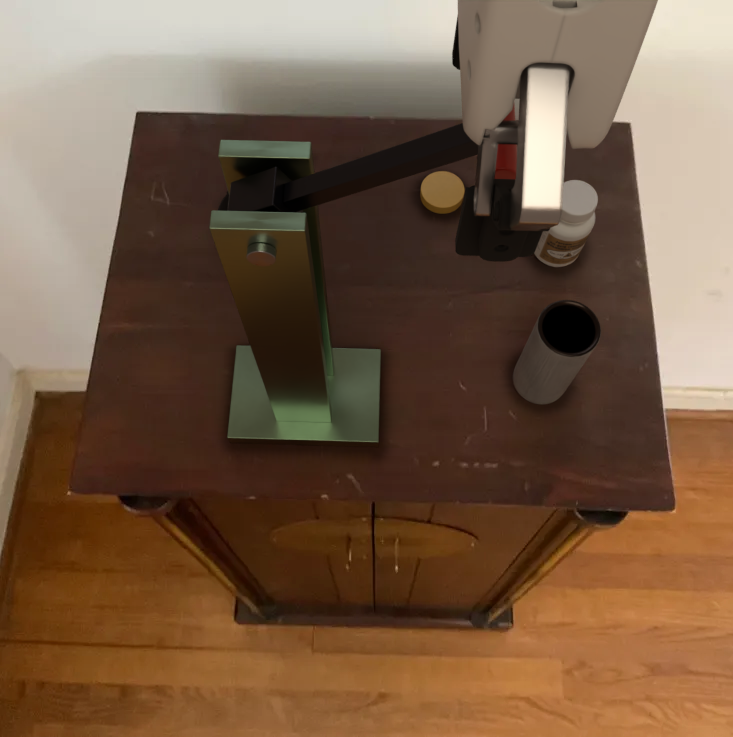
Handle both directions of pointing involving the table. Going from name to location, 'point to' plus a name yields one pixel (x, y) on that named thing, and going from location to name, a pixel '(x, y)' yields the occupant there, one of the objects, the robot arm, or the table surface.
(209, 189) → the table surface
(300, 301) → the hand press
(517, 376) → the planter
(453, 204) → the brass blank
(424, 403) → the table surface
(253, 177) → the lever
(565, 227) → the pill bottle
